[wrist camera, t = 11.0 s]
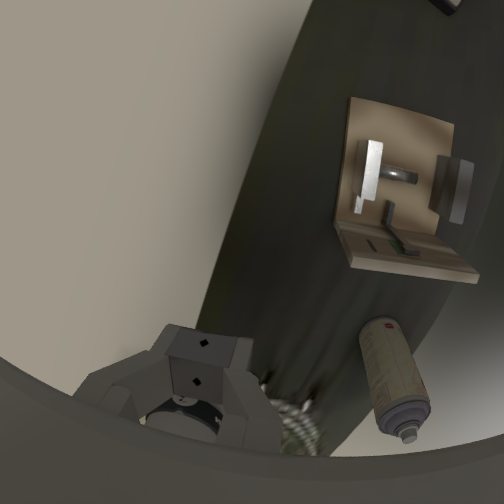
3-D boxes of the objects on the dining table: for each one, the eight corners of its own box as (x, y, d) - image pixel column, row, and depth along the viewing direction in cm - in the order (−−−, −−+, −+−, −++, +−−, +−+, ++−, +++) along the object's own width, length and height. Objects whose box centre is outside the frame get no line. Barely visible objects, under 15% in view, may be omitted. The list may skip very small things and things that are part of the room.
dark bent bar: (389, 224, 33) (419, 255, 24) (377, 222, 34) (404, 253, 24) (394, 200, 32) (427, 225, 23) (382, 198, 32) (412, 222, 23)
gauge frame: (428, 239, 35) (475, 285, 23) (332, 224, 36) (350, 269, 24) (448, 124, 29) (510, 126, 17) (348, 98, 30) (379, 77, 18)
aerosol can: (391, 351, 42) (421, 451, 24) (353, 349, 43) (371, 456, 25) (405, 317, 40) (449, 418, 22) (364, 314, 41) (394, 424, 22)
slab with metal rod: (399, 217, 33) (414, 230, 28) (348, 208, 34) (356, 220, 29) (411, 151, 30) (428, 154, 25) (358, 139, 30) (369, 139, 26)
